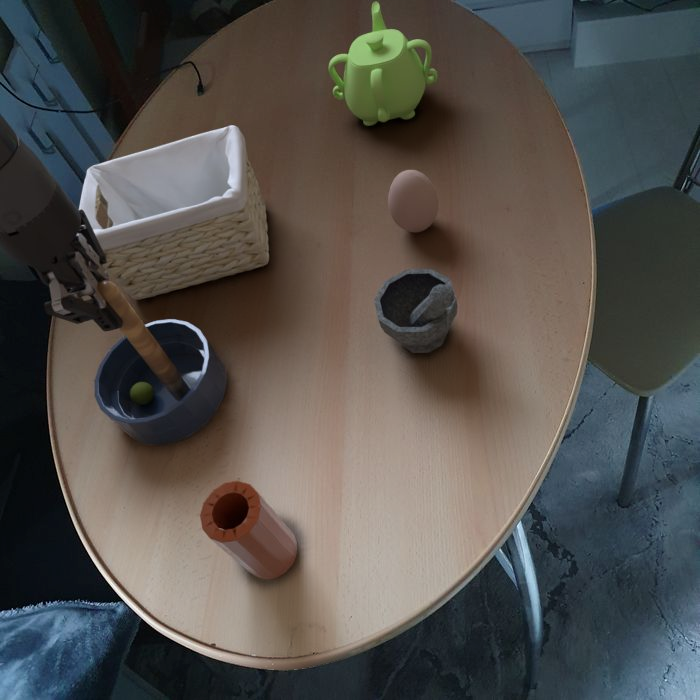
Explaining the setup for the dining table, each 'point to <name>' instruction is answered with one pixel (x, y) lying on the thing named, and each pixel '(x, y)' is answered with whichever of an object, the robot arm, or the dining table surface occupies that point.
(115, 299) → the stick
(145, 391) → the olive
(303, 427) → the dining table surface
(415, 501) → the dining table surface
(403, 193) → the egg
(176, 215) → the basket
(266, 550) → the crock
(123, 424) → the bowl
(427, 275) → the mortar and pestle
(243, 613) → the dining table surface
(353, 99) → the teapot
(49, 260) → the robot arm
